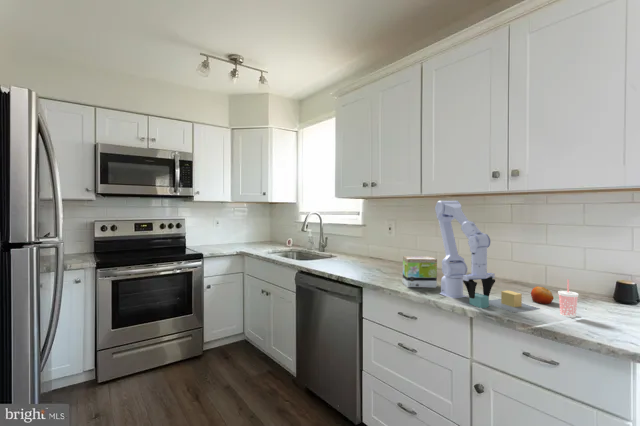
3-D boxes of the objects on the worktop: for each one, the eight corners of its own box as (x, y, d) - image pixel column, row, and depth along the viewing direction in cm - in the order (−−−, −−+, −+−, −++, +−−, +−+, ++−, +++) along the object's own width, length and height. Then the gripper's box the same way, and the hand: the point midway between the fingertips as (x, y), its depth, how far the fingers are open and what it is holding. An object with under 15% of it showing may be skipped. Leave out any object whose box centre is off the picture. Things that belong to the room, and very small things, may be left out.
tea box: (407, 288, 167) (407, 258, 167) (402, 283, 177) (402, 255, 177) (437, 287, 167) (437, 258, 167) (430, 283, 177) (430, 255, 177)
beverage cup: (569, 313, 126) (569, 277, 126) (582, 319, 120) (583, 280, 120) (553, 314, 126) (554, 277, 125) (566, 319, 120) (566, 281, 119)
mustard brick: (501, 303, 138) (501, 291, 138) (508, 302, 140) (508, 290, 139) (514, 307, 133) (514, 294, 132) (521, 306, 134) (521, 293, 134)
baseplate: (480, 302, 141) (480, 301, 141) (505, 299, 146) (505, 298, 146) (514, 314, 126) (514, 312, 126) (540, 310, 131) (540, 308, 131)
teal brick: (469, 305, 138) (469, 293, 137) (476, 304, 139) (477, 292, 139) (481, 309, 132) (481, 297, 132) (488, 308, 133) (488, 296, 133)
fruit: (527, 295, 146) (538, 281, 143) (545, 308, 142) (557, 293, 139) (524, 299, 140) (535, 285, 137) (543, 312, 136) (555, 297, 133)
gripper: (472, 266, 129) (472, 301, 129) (500, 264, 134) (500, 297, 134) (459, 263, 135) (459, 296, 136) (486, 261, 140) (486, 293, 141)
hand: (479, 297), depth 135 cm, fingers open, 7 cm apart
